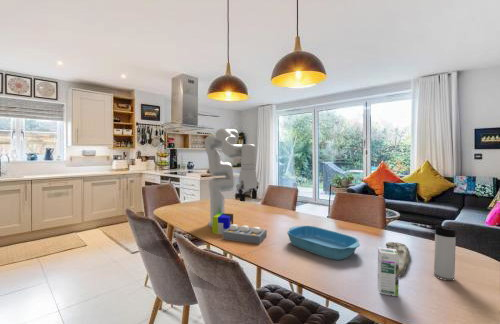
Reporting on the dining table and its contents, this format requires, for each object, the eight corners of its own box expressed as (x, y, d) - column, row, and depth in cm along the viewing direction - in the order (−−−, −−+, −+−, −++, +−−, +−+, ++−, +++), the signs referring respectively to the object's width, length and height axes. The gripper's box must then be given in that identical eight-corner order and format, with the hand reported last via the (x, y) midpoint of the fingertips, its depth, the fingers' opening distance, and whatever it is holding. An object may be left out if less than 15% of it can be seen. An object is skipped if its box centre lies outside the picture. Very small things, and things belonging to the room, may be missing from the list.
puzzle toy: (228, 234, 145) (228, 217, 145) (212, 233, 147) (212, 217, 147) (233, 229, 155) (233, 213, 155) (218, 228, 157) (218, 213, 157)
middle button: (242, 231, 142) (242, 225, 142) (249, 231, 141) (249, 225, 141) (239, 233, 138) (239, 227, 138) (247, 234, 137) (247, 228, 137)
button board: (231, 232, 149) (231, 225, 149) (266, 236, 141) (266, 229, 141) (222, 238, 138) (222, 231, 138) (259, 244, 130) (259, 236, 130)
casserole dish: (367, 253, 119) (367, 238, 118) (346, 268, 103) (346, 251, 103) (303, 234, 146) (303, 223, 145) (279, 244, 130) (279, 231, 130)
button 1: (231, 229, 145) (231, 223, 145) (238, 230, 143) (238, 224, 143) (228, 231, 141) (228, 225, 141) (235, 232, 139) (235, 226, 139)
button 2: (254, 232, 140) (254, 226, 140) (261, 233, 138) (261, 227, 138) (251, 234, 136) (251, 228, 136) (258, 235, 134) (258, 229, 134)
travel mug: (429, 273, 98) (430, 224, 98) (444, 272, 99) (445, 223, 98) (442, 281, 92) (444, 228, 91) (458, 280, 93) (460, 228, 92)
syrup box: (379, 294, 84) (380, 252, 83) (377, 285, 89) (377, 246, 89) (398, 297, 82) (399, 254, 81) (395, 288, 87) (395, 248, 87)
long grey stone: (378, 275, 99) (407, 284, 94) (379, 263, 99) (408, 271, 93) (387, 244, 128) (410, 250, 123) (388, 235, 128) (411, 240, 122)
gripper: (253, 166, 138) (253, 197, 139) (231, 168, 125) (231, 201, 126) (263, 167, 134) (263, 198, 134) (242, 168, 120) (242, 203, 121)
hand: (248, 199), depth 130 cm, fingers open, 9 cm apart
